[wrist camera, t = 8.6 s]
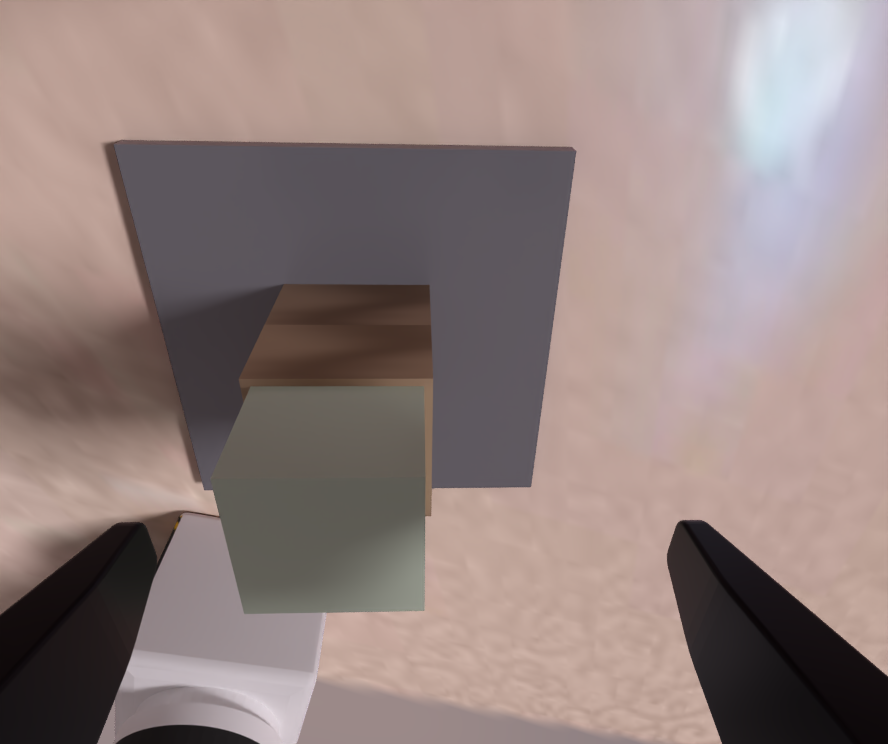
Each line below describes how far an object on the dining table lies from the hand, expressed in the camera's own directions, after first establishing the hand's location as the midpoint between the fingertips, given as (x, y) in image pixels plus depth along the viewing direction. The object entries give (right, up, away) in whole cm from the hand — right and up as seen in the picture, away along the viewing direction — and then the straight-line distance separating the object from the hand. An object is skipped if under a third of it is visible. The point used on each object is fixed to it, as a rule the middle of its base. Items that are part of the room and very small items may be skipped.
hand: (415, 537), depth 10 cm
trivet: (-3, +4, +12) cm, 13 cm away
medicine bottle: (-9, -7, +19) cm, 22 cm away
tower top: (-2, +2, +9) cm, 10 cm away
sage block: (-2, +1, +7) cm, 7 cm away
